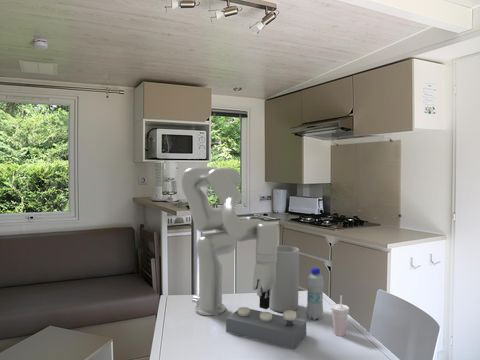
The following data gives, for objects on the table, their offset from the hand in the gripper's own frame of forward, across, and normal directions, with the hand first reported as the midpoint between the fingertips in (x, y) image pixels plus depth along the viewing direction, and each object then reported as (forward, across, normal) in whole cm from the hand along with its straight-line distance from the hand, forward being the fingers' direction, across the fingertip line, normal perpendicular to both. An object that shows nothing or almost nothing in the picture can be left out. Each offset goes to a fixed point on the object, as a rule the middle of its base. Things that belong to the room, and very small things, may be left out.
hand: (264, 307), depth 133 cm
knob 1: (+9, 0, -8) cm, 12 cm away
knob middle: (+8, 0, +1) cm, 8 cm away
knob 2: (+6, 0, +10) cm, 12 cm away
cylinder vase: (+10, -26, -3) cm, 28 cm away
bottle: (+9, -22, +12) cm, 26 cm away
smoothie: (+9, -13, +24) cm, 29 cm away
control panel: (+9, 0, +1) cm, 9 cm away
